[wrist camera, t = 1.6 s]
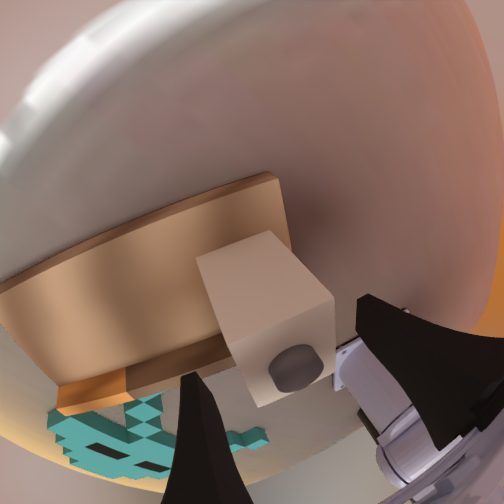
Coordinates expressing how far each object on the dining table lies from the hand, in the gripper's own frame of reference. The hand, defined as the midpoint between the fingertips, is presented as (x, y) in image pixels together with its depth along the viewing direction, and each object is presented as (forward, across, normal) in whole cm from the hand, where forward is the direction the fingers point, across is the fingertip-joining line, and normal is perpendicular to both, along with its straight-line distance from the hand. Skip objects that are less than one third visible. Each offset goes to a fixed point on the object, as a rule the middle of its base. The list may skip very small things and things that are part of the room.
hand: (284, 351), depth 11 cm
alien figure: (+8, +15, +17) cm, 24 cm away
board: (+7, +6, 0) cm, 9 cm away
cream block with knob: (+5, 0, 0) cm, 5 cm away
